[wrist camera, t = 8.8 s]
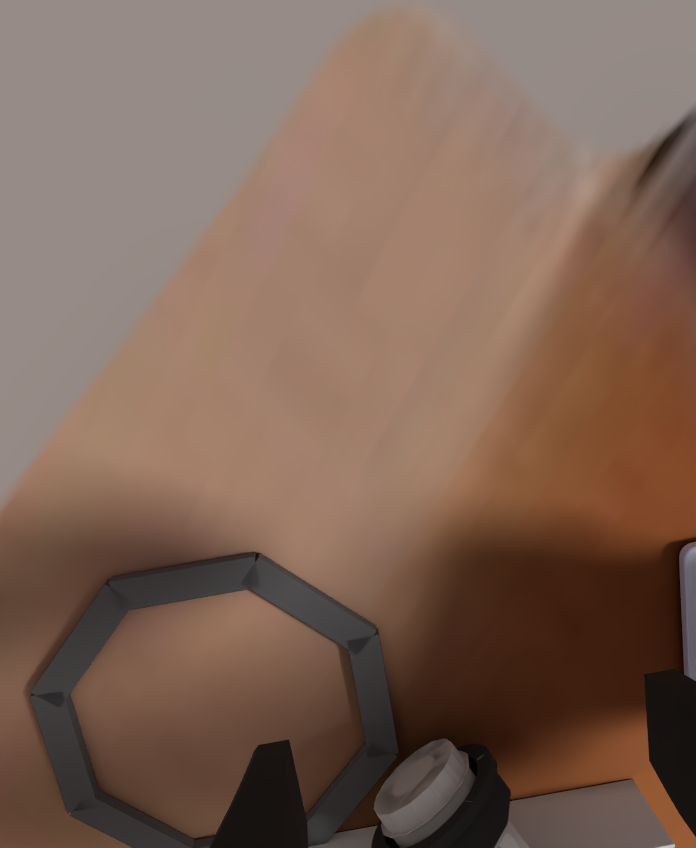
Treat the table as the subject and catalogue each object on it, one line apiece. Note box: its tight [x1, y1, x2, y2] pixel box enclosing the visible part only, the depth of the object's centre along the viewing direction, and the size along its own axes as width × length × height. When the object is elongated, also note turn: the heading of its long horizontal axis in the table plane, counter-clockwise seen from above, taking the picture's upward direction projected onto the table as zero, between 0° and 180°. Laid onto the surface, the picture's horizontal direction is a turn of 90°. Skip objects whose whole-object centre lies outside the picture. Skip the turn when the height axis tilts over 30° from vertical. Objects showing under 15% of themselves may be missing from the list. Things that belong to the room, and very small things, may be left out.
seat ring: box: [30, 552, 399, 848], centre depth 23 cm, size 13×13×1 cm
